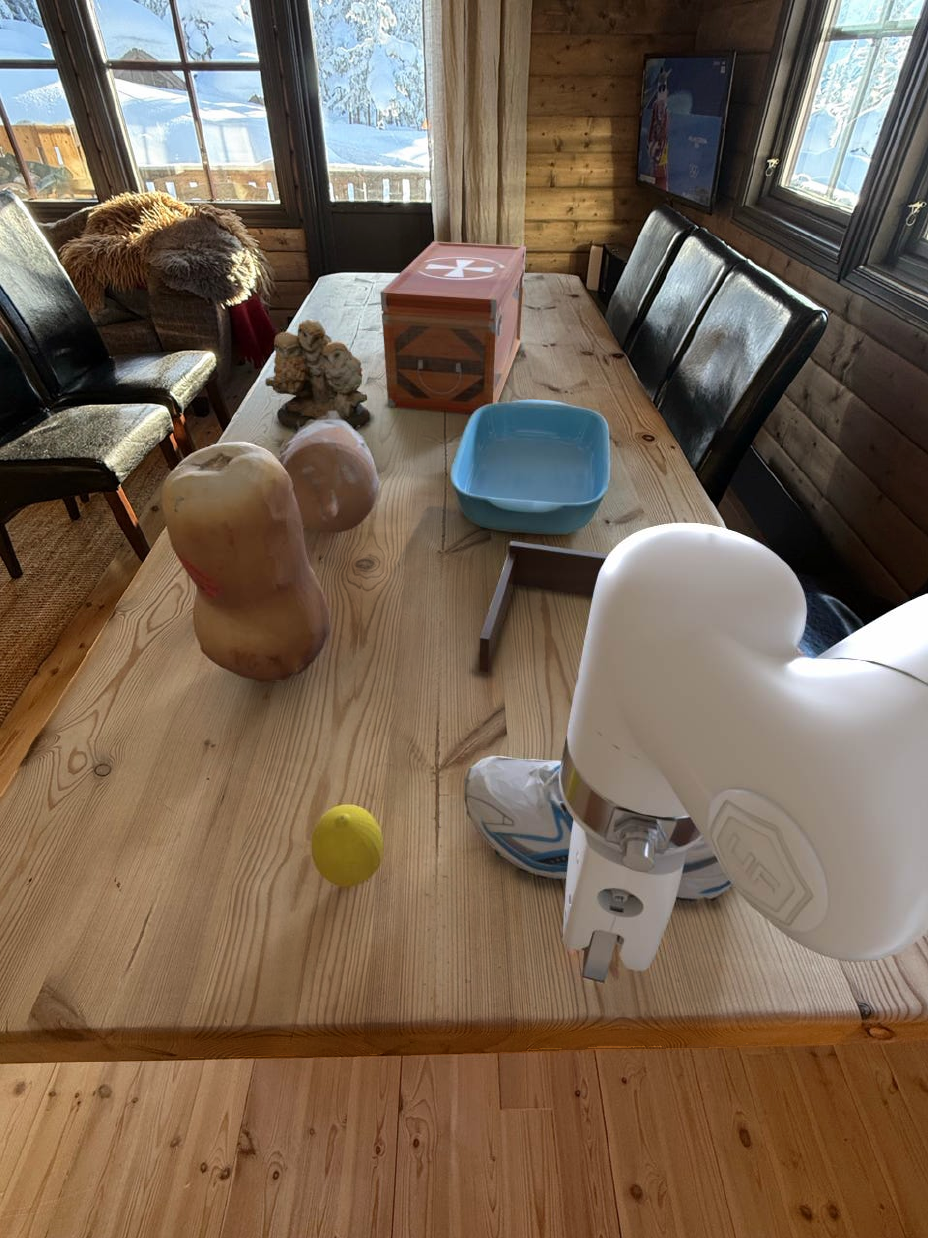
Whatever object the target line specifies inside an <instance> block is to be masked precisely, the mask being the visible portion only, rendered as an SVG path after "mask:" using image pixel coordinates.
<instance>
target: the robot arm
mask: <svg viewBox="0 0 928 1238" xmlns="http://www.w3.org/2000/svg"><path fill="white" fill-rule="evenodd" d="M807 615H808V609H807V600H806V595H805V592H804V589H803V587H802V584H801V582H800V580H799V579H798V577H797V575H796V573H795V572H794V571H793V570H792V568H791V567H790V565H788V564H787V563H786V562H785V561H784V560H783V559H782V558H781V557H780V556H779V555H778V554H777V553H775V552H774V551H772V550H771V549H770V548H768V547H767V546H765V545H764V544H762V543H760V542H759V541H757V540H755V539H754V538H751V537H749V536H746V535H744V534H741V533H739V532H737V531H733V530H731V529H727V528H724V527H720V526H716V525H711V524H703V523H693V522H672V523H665V524H659V525H655V526H651V527H647V528H644V529H641V530H639V531H637V532H634V533H631V535H629V536H628V537H626V538H625V539H623V540H622V541H621V542H620V543H618V544H617V545H616V546H615V547H614V548H613V549H612V550H611V551H610V553H609V554H608V557H607V558H606V560H605V562H604V564H603V566H602V567H601V569H600V572H599V574H598V578H597V582H596V585H595V589H594V594H593V597H592V599H591V604H590V610H589V615H588V621H587V626H586V631H585V636H584V642H583V647H582V648H583V649H582V652H581V659H580V663H579V667H578V673H577V676H576V677H577V678H576V681H575V687H574V693H573V699H572V704H571V709H570V714H569V720H568V725H567V730H566V736H565V741H564V746H563V751H562V757H561V760H560V761H561V765H560V770H559V788H560V793H561V796H562V799H563V802H564V804H565V806H566V808H567V810H568V812H569V813H570V815H571V816H572V818H573V819H574V820H573V826H572V833H571V840H570V849H569V858H568V868H567V878H565V879H566V880H565V894H564V908H563V922H562V923H563V925H562V930H561V939H562V943H563V945H564V947H565V949H566V950H567V951H568V952H569V954H572V953H573V950H574V951H577V952H579V951H581V950H582V951H583V957H582V970H581V978H582V979H587V980H590V981H594V982H599V983H602V984H605V982H606V980H607V976H608V973H609V968H610V965H611V963H612V958H613V955H614V951H615V948H616V945H620V947H619V951H618V952H619V953H618V955H619V958H620V959H621V961H622V963H623V965H624V967H625V968H626V969H627V970H631V971H636V972H645V971H646V970H648V968H650V967H651V965H652V963H653V962H654V959H655V957H656V955H657V953H658V949H659V947H660V945H661V942H662V940H663V937H664V934H665V932H666V929H667V927H668V923H669V921H670V918H671V915H672V912H673V909H674V905H675V902H676V900H677V899H676V896H677V892H678V888H679V884H680V880H681V876H682V871H683V866H684V860H685V855H686V849H688V848H690V847H692V846H693V845H694V844H695V843H697V842H698V841H699V840H700V839H701V838H702V837H703V838H704V840H705V841H706V843H707V844H708V846H709V847H710V849H711V850H712V852H713V853H714V855H715V856H716V858H717V859H718V861H719V863H720V865H721V867H722V870H723V871H724V873H725V874H726V876H727V877H728V879H729V881H730V882H731V884H732V886H733V888H734V890H736V891H737V893H738V894H739V895H740V896H741V898H743V900H745V902H746V903H747V904H748V905H749V906H750V907H751V908H753V909H754V910H755V911H757V913H759V914H760V915H761V916H762V917H763V918H765V919H766V920H768V921H769V923H771V924H772V925H773V926H774V927H776V929H778V930H779V931H780V932H781V933H783V934H784V935H785V936H787V937H788V938H790V939H791V940H792V941H794V942H795V943H797V944H798V945H800V946H802V947H804V948H805V949H808V950H810V951H813V952H814V953H816V954H818V955H819V956H820V955H821V956H823V957H827V958H830V959H833V960H837V961H841V962H848V963H849V962H850V963H866V962H868V963H869V962H877V961H879V960H883V959H887V958H889V957H893V956H895V955H897V954H899V953H902V952H903V951H905V950H906V949H908V948H910V947H911V946H913V945H914V944H916V943H917V942H918V941H919V940H921V938H923V937H924V936H925V935H926V934H927V933H928V593H925V594H923V595H921V596H918V597H916V598H914V599H912V600H909V601H907V602H905V603H903V604H902V605H899V606H897V607H896V608H894V609H892V610H889V611H888V612H886V613H885V614H883V615H881V616H879V617H877V618H876V619H875V620H872V621H871V622H869V623H868V624H866V625H865V626H863V627H861V628H859V629H857V630H856V631H854V632H853V633H851V634H849V635H848V636H847V637H845V638H844V639H842V640H841V641H839V642H838V643H836V644H834V645H833V646H831V647H830V648H828V649H826V650H825V651H824V652H822V653H820V654H819V655H817V656H816V657H813V658H812V657H807V656H805V655H804V654H802V653H801V652H800V651H799V649H798V648H799V645H800V643H801V641H802V638H803V635H804V633H805V630H806V624H807Z"/></svg>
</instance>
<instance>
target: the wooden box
mask: <svg viewBox="0 0 928 1238" xmlns="http://www.w3.org/2000/svg"><path fill="white" fill-rule="evenodd" d="M526 251H527V246H525V245H510V244H509V245H508V244H488V243H472V242H471V243H467V242H448V241H447V242H446V241H432V242H431V243H430V245H428V246H427V247H426V248H425V249H424V250H423V251H422V252H421V253H420V254H418V256H417V257H416V258H414V260H412V262H410V264H408V266H406V267H405V268H404V269H403V270H402V271H401V272H400V273H399V274H398V275H397V276H396V277H394V279H393V280H392V281H391V282H389V283H388V284H387V286H385V287H384V288H383V289H382V290H381V291H380V292H379V293H380V304H381V305H380V306H381V312H382V313H381V323H382V333H383V351H384V365H385V378H386V379H385V380H386V393H387V406H388V407H392V408H401V409H403V408H404V409H414V410H424V411H425V410H426V411H438V412H448V413H460V414H469V415H470V414H471V415H472V414H473V413H474V412H475V411H476V410H477V409H479V408H480V407H482V406H485V405H488V404H492V403H499V399H500V397H501V395H502V392H503V391H504V390H503V389H504V387H505V384H506V382H507V379H508V376H509V375H510V371H511V369H512V366H513V363H514V361H515V358H516V355H517V354H518V353H517V352H518V350H519V347H520V345H521V337H522V336H521V334H522V319H523V318H522V317H523V303H524V302H523V301H524V287H525V286H524V285H525V284H524V283H525V270H526V253H527V252H526Z"/></svg>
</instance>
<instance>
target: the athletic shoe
mask: <svg viewBox="0 0 928 1238" xmlns="http://www.w3.org/2000/svg"><path fill="white" fill-rule="evenodd" d="M561 761H562V760H547V759H538V758H528V759H527V758H526V759H525V758H516V757H509V756H503V755H491V756H487V757H484V758H481V759H480V760H479V761H477V763H475V764H474V765H472V766H470V767H468V770H467V773H466V775H465V777H464V786H463V787H464V788H463V789H464V791H463V792H464V798H463V799H464V804H465V808H466V814H467V816H468V817H469V819H470V820H471V822H472V824H473V826H474V828H475V830H476V832H477V834H478V835H480V836H481V837H482V838H483V839H484V840H485V841H486V842H487V843H488V845H489V846H490V847H491V848H492V849H493V851H494V853H495V855H496V856H502V857H503V858H505V859H506V860H508V861H509V862H510V863H511V864H513V865H514V866H515V867H516V869H518V870H519V871H521V872H523V873H525V874H528V873H531V874H535V876H536V877H537V878H539V879H546V880H547V879H551V880H556V881H563V880H565V879H566V878H567V868H568V858H569V849H570V840H571V833H572V826H573V820H574V819H573V818H572V816H571V815H570V813H569V812H568V810H567V808H566V806H565V804H564V802H563V799H562V796H561V793H560V788H559V770H560V765H561ZM732 886H733V885H732V884H731V882H730V881H729V879H728V877H727V876H726V874H725V873H724V871H723V870H722V867H721V865H720V863H719V861H718V859H717V858H716V856H715V855H714V853H713V852H712V850H711V849H710V847H709V846H708V844H707V843H706V841H705V840H704V838H703V837H702V838H701V839H700V840H699V841H698V842H697V843H695V844H694V845H693V846H692V847H690V848H688V849H686V855H685V860H684V866H683V871H682V876H681V880H680V884H679V888H678V892H677V896H676V900H678V901H683V902H684V901H687V902H695V901H699V900H701V899H702V898H706V899H708V900H711V901H713V902H714V901H715V900H716V899H717V898H719V897H721V896H723V895H724V894H725V893H726V891H728V889H730V888H731V887H732Z"/></svg>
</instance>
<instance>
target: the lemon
mask: <svg viewBox="0 0 928 1238" xmlns="http://www.w3.org/2000/svg"><path fill="white" fill-rule="evenodd" d="M383 838H384V837H383V834H382V829H381V827H380V826H379V823H378V822H377V820H376V819H375V818H374V816H373V815H372V814H371V813H370V812H369V811H368V810H367V809H365V808H363V807H361V806H358V805H355V804H341V805H337V806H335V807H332V808H330V809H329V810H328V811H326V812H324V814H323V815H322V816H321V817H320V818H319V819H318V822H317V823H316V825H315V827H314V830H313V833H312V837H311V857H312V860H313V863H314V866H315V868H316V870H317V871H318V873H319V874H320V875H321V877H323V879H324V880H326V881H327V882H328V883H329V884H332V885H334V886H337V887H342V888H352V887H356V886H359V885H362V884H364V883H365V882H366V881H368V880H370V879H371V877H373V875H374V874H375V873H376V872H377V870H378V869H379V867H380V865H381V861H382V859H383V856H384V839H383Z"/></svg>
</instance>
